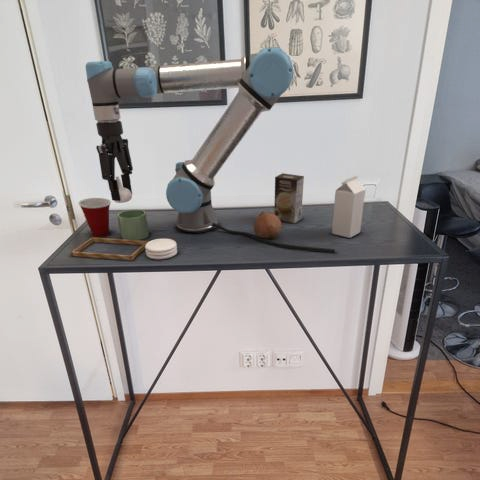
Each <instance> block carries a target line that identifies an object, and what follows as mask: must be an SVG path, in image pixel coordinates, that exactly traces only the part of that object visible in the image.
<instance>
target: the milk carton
mask: <svg viewBox="0 0 480 480" xmlns="http://www.w3.org/2000/svg"><path fill="white" fill-rule="evenodd" d="M358 176H359V174H356V175H353V176H351V177H349V178H346V179H345V180H343V181H342V182H341V186H339V187H337V189H335V191H334V203H333V213H332V226H331V234H332V235H336V236H340V237H344V238H347V239H351V238H352V237H354V236H357V235H358V234H360V233H361V228H362V222H363V221H362V220H363V212H364V205H365V196H366V188H365V186H364V185H363V184H362V182H360V180H359V179H358Z"/></svg>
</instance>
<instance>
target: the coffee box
mask: <svg viewBox="0 0 480 480" xmlns="http://www.w3.org/2000/svg"><path fill="white" fill-rule="evenodd" d="M304 181H305V176H304V175H298V174H291V173H284V172H282V173H280V174H278V175H277V176H274V206H273V207H274V212H273V214H275V215H276V216H277V217H278V218H279V219H280V221H281V222H286V223H291V224H296V223H298V222H299V221H300V220H302V215H303V214H302V213H303V199H304V197H303V196H304Z"/></svg>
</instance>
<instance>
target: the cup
mask: <svg viewBox="0 0 480 480" xmlns="http://www.w3.org/2000/svg"><path fill="white" fill-rule="evenodd" d="M117 220H118V221H117V222H118V226H119V232H120V236H121V239H123V240H139V241H142V240H144V239H147V238H148V237H149V236H150V230H149V225H148V216H147V212H146V210H143V209H127V210H123V211H121V212H118V214H117Z"/></svg>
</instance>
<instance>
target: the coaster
mask: <svg viewBox="0 0 480 480" xmlns="http://www.w3.org/2000/svg"><path fill="white" fill-rule="evenodd" d="M148 241H149V240H148ZM144 250H145V255H146V257H147V258H149V259H151V260H157V261H159V260H168V259H171V258H173V257H175V256H176V255H177V254H178V246H177V242H176V241H175V240H174V239H171V238H156V239H152V240H150V241H149V242H148V243H147V244H146V245H145V249H144Z"/></svg>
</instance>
